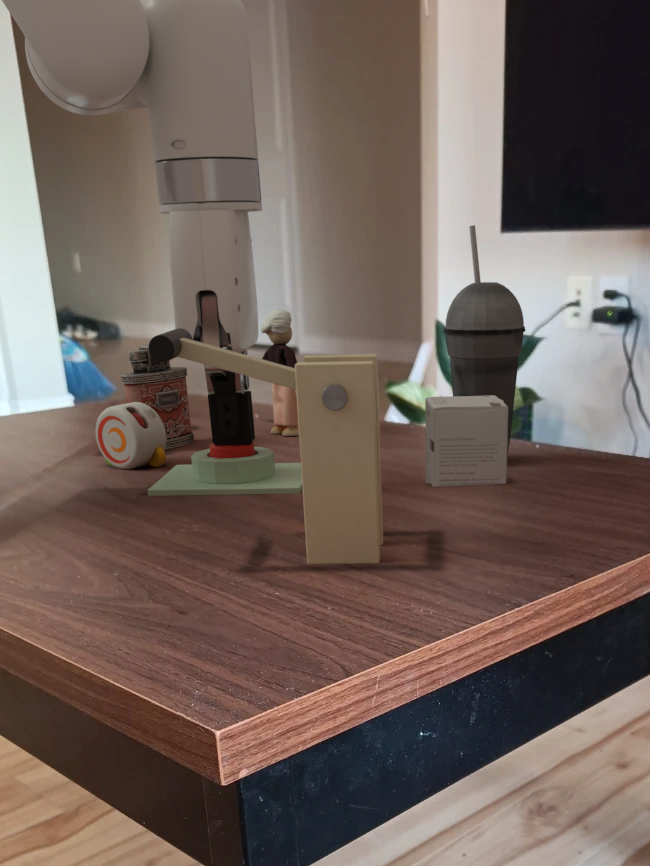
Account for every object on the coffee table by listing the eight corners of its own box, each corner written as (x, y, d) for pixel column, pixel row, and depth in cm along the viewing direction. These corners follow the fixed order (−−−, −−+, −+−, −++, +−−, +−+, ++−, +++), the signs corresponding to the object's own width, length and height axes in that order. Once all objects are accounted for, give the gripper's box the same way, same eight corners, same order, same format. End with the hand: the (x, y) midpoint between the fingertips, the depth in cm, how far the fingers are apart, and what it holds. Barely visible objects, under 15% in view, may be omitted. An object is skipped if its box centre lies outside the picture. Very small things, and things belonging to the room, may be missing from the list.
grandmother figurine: (322, 433, 112) (316, 309, 107) (297, 438, 110) (289, 311, 104) (275, 427, 117) (266, 307, 112) (249, 432, 115) (239, 309, 109)
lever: (145, 367, 58) (151, 323, 57) (166, 358, 62) (172, 316, 61) (354, 424, 59) (364, 382, 58) (360, 411, 63) (369, 371, 62)
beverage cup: (510, 471, 92) (516, 223, 84) (433, 467, 95) (431, 226, 86) (530, 455, 98) (537, 224, 90) (457, 452, 101) (457, 226, 92)
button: (207, 470, 83) (205, 448, 82) (216, 461, 86) (214, 440, 85) (251, 469, 83) (250, 447, 82) (258, 460, 86) (257, 439, 85)
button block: (149, 511, 81) (144, 466, 80) (178, 484, 90) (173, 443, 89) (301, 509, 81) (298, 464, 79) (314, 482, 90) (312, 441, 88)
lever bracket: (250, 592, 62) (230, 368, 56) (270, 555, 69) (254, 353, 64) (433, 590, 61) (431, 364, 56) (434, 553, 69) (432, 350, 63)
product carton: (424, 486, 87) (423, 396, 84) (495, 483, 88) (496, 393, 85) (432, 502, 82) (431, 406, 79) (508, 499, 82) (510, 403, 79)
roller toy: (129, 459, 101) (121, 398, 98) (178, 465, 98) (171, 402, 96) (96, 468, 98) (86, 405, 95) (145, 473, 95) (137, 409, 92)
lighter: (146, 453, 104) (133, 349, 99) (122, 451, 105) (109, 347, 101) (201, 441, 110) (191, 341, 106) (178, 438, 111) (168, 340, 107)
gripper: (182, 196, 83) (207, 429, 91) (132, 188, 69) (167, 463, 77) (274, 192, 83) (292, 427, 90) (242, 184, 69) (266, 460, 77)
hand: (234, 443), depth 84 cm, fingers closed
